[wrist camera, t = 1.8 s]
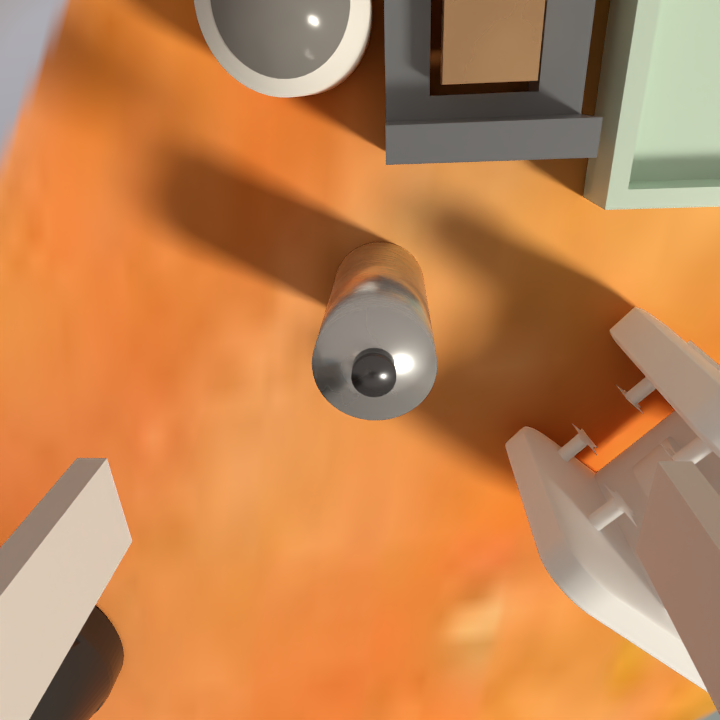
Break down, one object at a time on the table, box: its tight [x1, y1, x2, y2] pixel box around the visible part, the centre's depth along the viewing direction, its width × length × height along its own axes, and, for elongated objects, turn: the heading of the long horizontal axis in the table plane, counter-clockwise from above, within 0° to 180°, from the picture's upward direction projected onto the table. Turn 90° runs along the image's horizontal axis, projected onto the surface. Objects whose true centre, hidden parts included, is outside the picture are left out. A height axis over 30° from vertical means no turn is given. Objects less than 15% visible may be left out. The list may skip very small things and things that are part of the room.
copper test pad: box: [440, 0, 545, 85], centre depth 21 cm, size 4×4×1 cm
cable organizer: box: [505, 307, 720, 692], centre depth 26 cm, size 15×11×12 cm
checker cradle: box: [384, 0, 603, 165], centre depth 21 cm, size 8×9×5 cm
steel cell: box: [312, 242, 437, 420], centre depth 24 cm, size 5×5×10 cm
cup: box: [194, 0, 373, 97], centre depth 21 cm, size 6×6×5 cm
